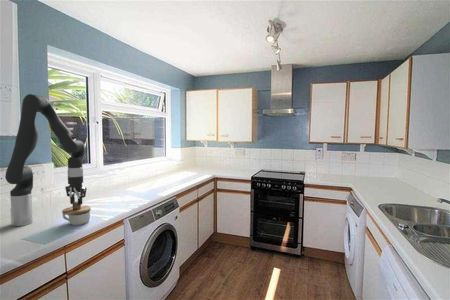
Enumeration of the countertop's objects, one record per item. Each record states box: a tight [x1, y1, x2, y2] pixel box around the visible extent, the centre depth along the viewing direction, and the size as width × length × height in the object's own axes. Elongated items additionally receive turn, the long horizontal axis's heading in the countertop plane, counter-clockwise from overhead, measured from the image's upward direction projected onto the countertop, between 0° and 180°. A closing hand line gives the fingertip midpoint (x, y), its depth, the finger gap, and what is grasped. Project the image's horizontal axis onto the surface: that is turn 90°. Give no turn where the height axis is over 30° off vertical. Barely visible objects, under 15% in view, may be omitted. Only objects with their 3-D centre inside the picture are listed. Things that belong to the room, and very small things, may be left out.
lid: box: [61, 200, 92, 216], centre depth 137 cm, size 14×14×5 cm
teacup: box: [62, 210, 91, 226], centre depth 137 cm, size 14×11×8 cm
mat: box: [22, 226, 76, 245], centre depth 120 cm, size 16×16×1 cm
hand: (76, 204), depth 136 cm, fingers open, 5 cm apart
